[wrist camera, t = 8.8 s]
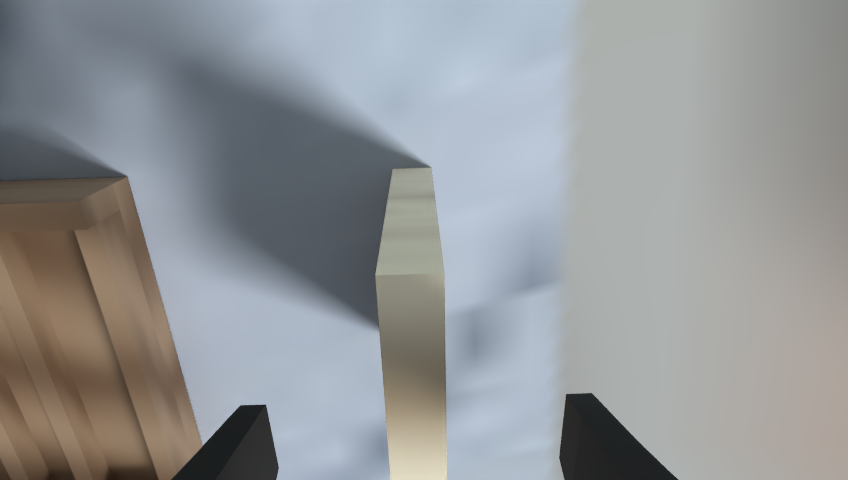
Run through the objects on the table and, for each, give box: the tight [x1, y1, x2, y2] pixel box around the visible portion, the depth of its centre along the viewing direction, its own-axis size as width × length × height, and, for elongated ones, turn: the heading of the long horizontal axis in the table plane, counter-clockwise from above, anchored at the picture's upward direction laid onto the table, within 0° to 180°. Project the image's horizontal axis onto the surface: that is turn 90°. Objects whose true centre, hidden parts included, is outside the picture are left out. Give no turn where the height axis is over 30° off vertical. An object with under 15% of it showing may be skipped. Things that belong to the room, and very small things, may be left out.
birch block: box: [375, 167, 447, 480], centre depth 16 cm, size 8×2×9 cm, turn 2°
